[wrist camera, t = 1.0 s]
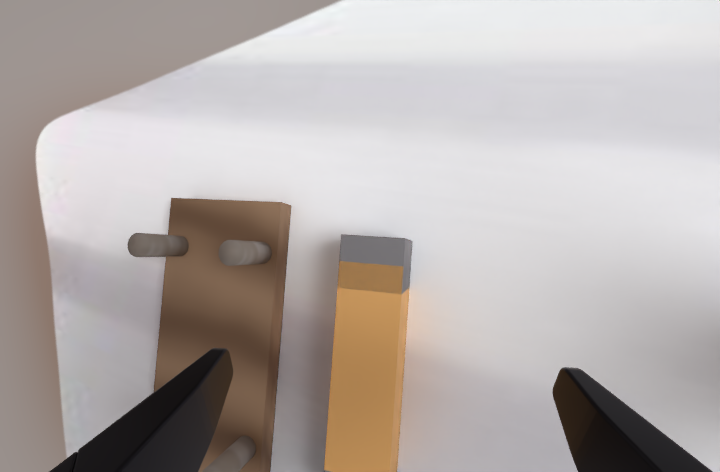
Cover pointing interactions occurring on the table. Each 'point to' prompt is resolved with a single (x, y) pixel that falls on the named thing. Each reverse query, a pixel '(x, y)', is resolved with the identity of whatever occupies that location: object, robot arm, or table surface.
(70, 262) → the table surface
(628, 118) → the table surface
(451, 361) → the table surface
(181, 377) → the robot arm
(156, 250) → the rack
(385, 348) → the bar
